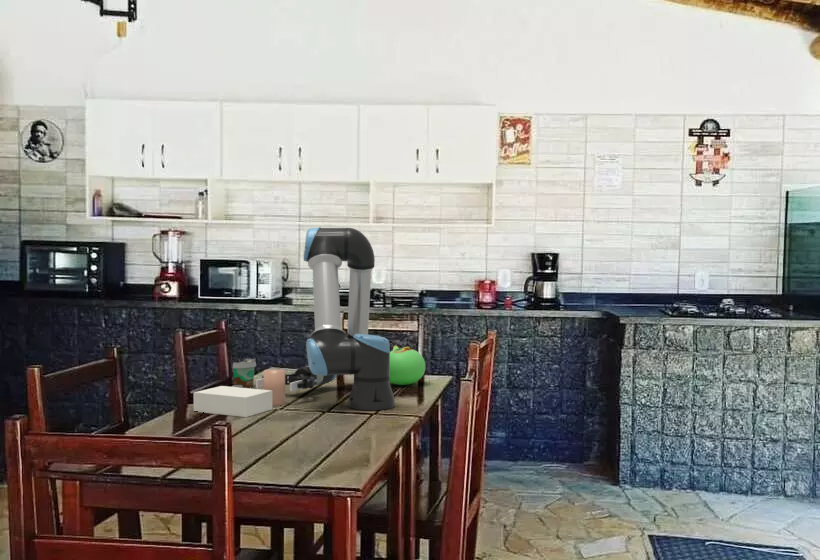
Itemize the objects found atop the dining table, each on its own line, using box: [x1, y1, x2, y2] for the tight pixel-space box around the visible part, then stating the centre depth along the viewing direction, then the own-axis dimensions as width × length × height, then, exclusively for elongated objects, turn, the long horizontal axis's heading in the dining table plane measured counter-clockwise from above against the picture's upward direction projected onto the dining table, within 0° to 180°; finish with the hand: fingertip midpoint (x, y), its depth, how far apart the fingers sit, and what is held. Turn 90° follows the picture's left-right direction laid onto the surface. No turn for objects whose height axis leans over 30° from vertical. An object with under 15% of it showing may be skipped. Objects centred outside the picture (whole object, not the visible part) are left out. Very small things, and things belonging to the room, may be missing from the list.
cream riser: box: [193, 385, 273, 418], centre depth 262 cm, size 20×14×6 cm
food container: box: [232, 358, 257, 389], centre depth 305 cm, size 12×6×10 cm, turn 168°
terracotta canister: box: [263, 368, 286, 407], centre depth 274 cm, size 7×7×11 cm
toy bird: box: [390, 345, 426, 386], centre depth 314 cm, size 18×17×15 cm
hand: (273, 385), depth 274 cm, fingers open, 13 cm apart
